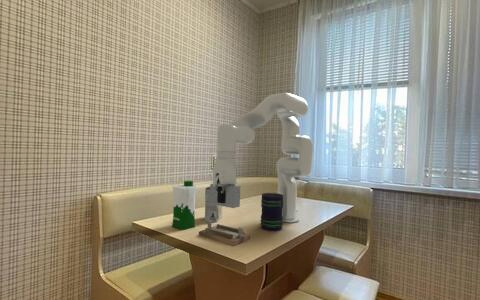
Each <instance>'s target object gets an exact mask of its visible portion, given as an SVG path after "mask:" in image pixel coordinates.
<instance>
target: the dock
mask: <svg viewBox="0 0 480 300" xmlns="http://www.w3.org/2000/svg"><path fill="white" fill-rule="evenodd" d="M198 236H200V237H203V238H207V239H210V240H212V241H213V240H214V241H217V242H220V243H225V244H228V245H231V246H237V245H239V244H241V243H243V242H245V241H248V240H249V239H251V234H250V233H249V234H248V233H244V229H243V227H238V228H236V227H231V226H227V225H224V224H219V223H218V224H216V225H214V226H213V225H212V221H211V220H208V221H207V227H205V228H204V229H203V230H200V231H199V230H198Z"/></svg>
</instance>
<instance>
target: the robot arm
mask: <svg viewBox="0 0 480 300" xmlns="http://www.w3.org/2000/svg"><path fill="white" fill-rule="evenodd" d="M308 110H309V105H308V103H307V101H306V100H305V99H304V98H303V97H300V96H297V95H295V94H292V93H288V92H281V93H275V94H270V95H268V96H267V97H265V98H264V99H263V100H262V101H261V102H260V103H258V105H257V106H256V107H255V108H253V109H251V110H250V111H248V112H246V113H245V114H242V115H240V116H239V117H237V118H236V119H234V120H233V121H231V123H230V124H220V125H218V126H217V135H216V136H217V139H216V140H217V142H216V159H215V161H214V164H213V171H212V172H213V173H212V184H213V187H214V188H215V189H216V190H217V193H218V195H217V202H218V203H222V204H223V203H224V202H225V193H224V188H225V185H236V186H237V160H236V159H237V157H236V154H237V153H236V152H237V145H248V144H251V143H252V142H253V141H254V140H255V136H256V135H255V130H254V129H256V128H260V127H262V126H264V125H266V124H268V122H270V121H271V119H272V118H273V117H274V116H277V117H278V119H279V120H280V121H281V124H282V134H281V135H282V138H281V152H282V153H283V154H285V155H290V156H285V157H284V156H283V157H280V158H279V159H278V160H277V163H276V173H277V174H276V175H277V194H282V195H283V208H282V216H283V223H297V222H299V221H300V217H299V216H297V213H298V212H299V211H298V209H297V200H298V199H297V198H298V197H297V196H298V184H297V181H296V178H307V177H309V176H310V174H311V171H312V164H313V163H312V162H313V151H314V150H313V149H314V144H313V141H312V139H311V138H310V137H309V136H308V135H301V134H300V131H301V130H300V129H301V128H300V127H301V126H300V123H299V121H298V120H297V118H298V117H299V118H300V117H304V116H306V114H307V113H308ZM291 155H292V156H293V155H295V156H298V157H295V156H294V157H291ZM220 184H221V185H220ZM220 186H222V188H221V187H220Z"/></svg>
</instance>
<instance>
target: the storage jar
mask: <svg viewBox="0 0 480 300" xmlns="http://www.w3.org/2000/svg"><path fill="white" fill-rule="evenodd" d="M260 205H261V215H260V229H261V230H263V231H267V232H280V231H282V230H283V225H284V222H283V216H282V208H283V195H282V194H278V192H277V193H275V192H265V193H262V194H261V202H260Z"/></svg>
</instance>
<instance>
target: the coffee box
mask: <svg viewBox="0 0 480 300" xmlns="http://www.w3.org/2000/svg"><path fill="white" fill-rule="evenodd" d="M204 203H205V204H204V222H208V220H211V221H212V222H213V223H218V222H219V221H220V220H221V219H222V218H223V206H219V205H214V204H210V186H207V187H205V196H204ZM212 222H211V223H212Z"/></svg>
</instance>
